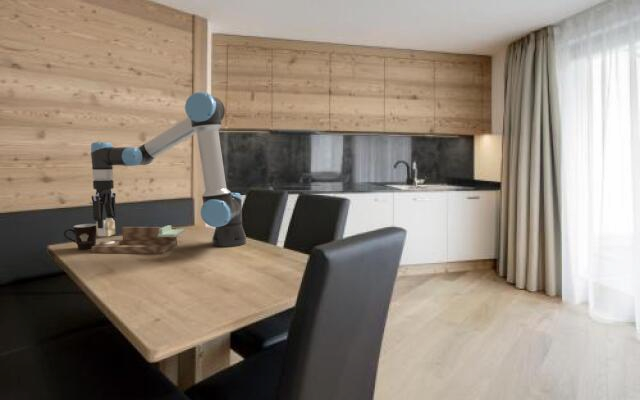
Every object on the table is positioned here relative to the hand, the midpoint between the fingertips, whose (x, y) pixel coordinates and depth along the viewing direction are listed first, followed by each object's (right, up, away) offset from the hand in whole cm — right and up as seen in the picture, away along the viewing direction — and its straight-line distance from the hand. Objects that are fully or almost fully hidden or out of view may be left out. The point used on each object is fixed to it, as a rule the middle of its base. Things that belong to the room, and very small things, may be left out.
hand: (106, 234), depth 165 cm
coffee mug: (-11, -6, +3) cm, 13 cm away
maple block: (0, 0, 0) cm, 0 cm away
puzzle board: (+12, -6, +1) cm, 14 cm away
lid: (+28, 0, 0) cm, 28 cm away
